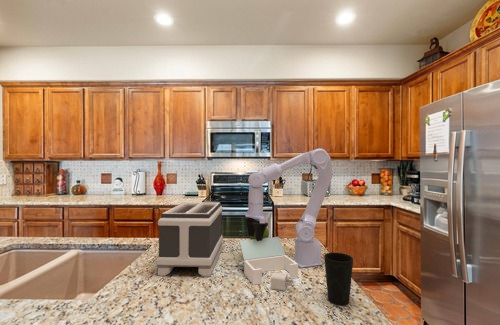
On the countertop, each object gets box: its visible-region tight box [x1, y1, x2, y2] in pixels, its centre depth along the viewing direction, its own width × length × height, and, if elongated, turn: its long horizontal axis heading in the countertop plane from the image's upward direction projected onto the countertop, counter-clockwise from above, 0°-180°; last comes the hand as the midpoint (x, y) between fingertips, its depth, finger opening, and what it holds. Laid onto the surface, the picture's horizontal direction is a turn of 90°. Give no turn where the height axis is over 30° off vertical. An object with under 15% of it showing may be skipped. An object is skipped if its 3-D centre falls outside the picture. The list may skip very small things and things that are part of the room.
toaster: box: [156, 201, 224, 278], centre depth 104 cm, size 18×34×21 cm, turn 178°
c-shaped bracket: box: [243, 254, 299, 286], centre depth 88 cm, size 16×9×5 cm, turn 110°
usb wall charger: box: [270, 271, 296, 292], centre depth 79 cm, size 4×7×4 cm, turn 72°
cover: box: [238, 236, 286, 261], centre depth 95 cm, size 16×8×1 cm
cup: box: [323, 252, 354, 307], centre depth 72 cm, size 8×8×12 cm
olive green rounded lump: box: [249, 227, 270, 240], centre depth 114 cm, size 9×8×12 cm
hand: (255, 238), depth 101 cm, fingers open, 7 cm apart
